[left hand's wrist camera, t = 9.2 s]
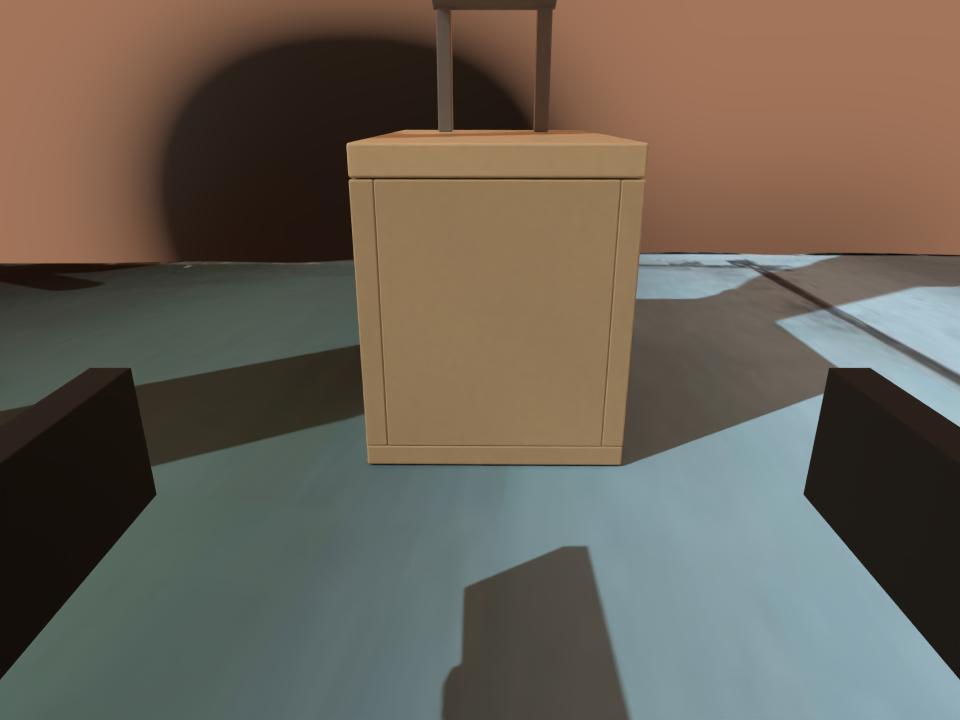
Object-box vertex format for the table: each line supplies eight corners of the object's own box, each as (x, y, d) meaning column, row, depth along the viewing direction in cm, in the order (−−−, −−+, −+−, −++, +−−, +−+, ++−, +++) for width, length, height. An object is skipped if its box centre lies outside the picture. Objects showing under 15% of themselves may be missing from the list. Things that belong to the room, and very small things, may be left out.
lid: (403, 151, 36) (397, -22, 33) (581, 151, 36) (590, -22, 33) (348, 177, 22) (327, -127, 19) (646, 178, 22) (673, -128, 19)
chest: (410, 338, 40) (402, 152, 36) (572, 339, 40) (582, 153, 36) (367, 464, 25) (348, 179, 22) (621, 465, 25) (646, 179, 22)
